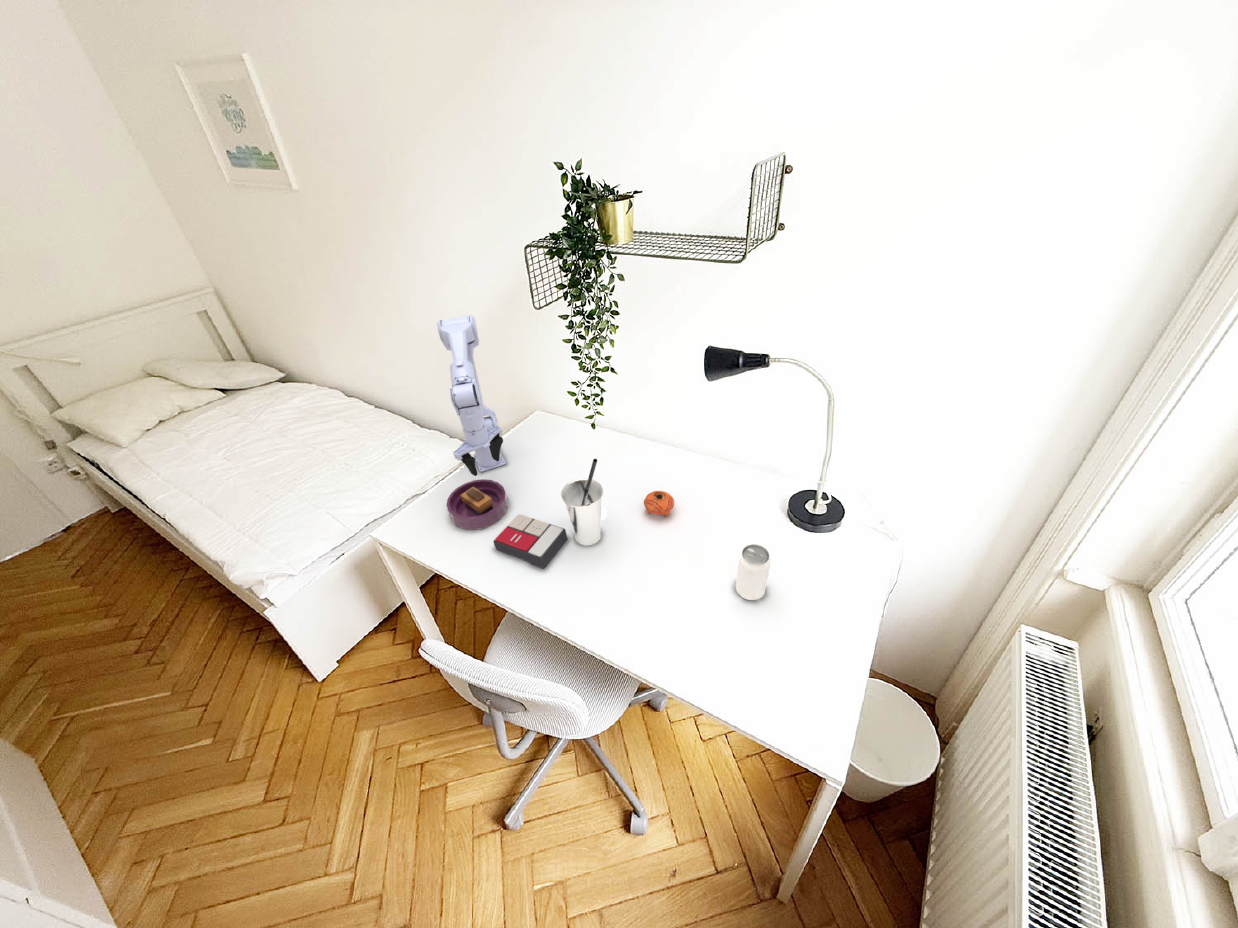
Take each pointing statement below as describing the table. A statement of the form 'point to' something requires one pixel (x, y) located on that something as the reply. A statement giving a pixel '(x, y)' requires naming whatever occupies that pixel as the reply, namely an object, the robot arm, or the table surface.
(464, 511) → the bowl
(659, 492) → the pot
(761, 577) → the can
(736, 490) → the table surface
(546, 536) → the calculator
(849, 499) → the table surface
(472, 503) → the scrub brush
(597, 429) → the table surface
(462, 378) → the robot arm
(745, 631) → the table surface
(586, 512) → the metal cup with straw
